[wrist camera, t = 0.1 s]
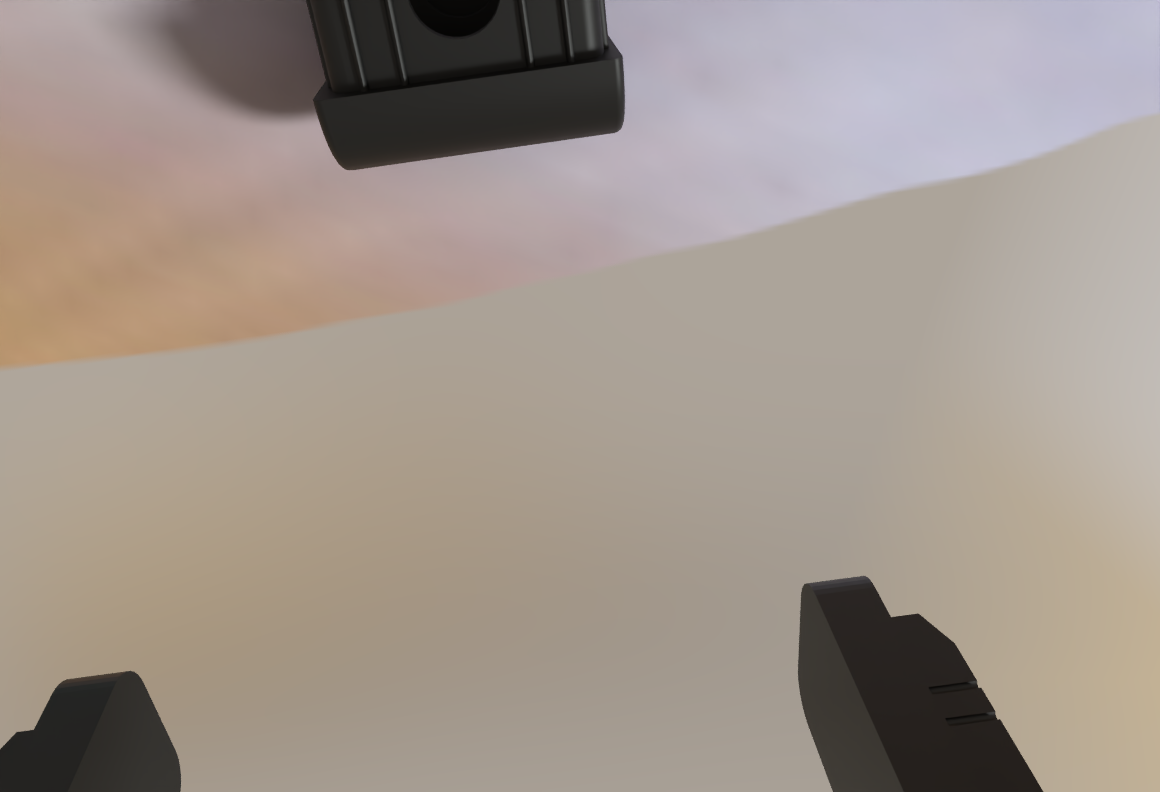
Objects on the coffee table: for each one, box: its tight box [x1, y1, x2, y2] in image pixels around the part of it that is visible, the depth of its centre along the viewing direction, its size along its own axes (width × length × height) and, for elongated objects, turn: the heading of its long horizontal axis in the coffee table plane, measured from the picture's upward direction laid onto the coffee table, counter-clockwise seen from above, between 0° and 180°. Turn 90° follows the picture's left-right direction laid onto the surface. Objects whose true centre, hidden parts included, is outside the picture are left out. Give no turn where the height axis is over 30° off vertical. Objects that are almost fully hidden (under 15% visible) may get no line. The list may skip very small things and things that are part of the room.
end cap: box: [306, 0, 625, 170], centre depth 32 cm, size 10×7×7 cm
